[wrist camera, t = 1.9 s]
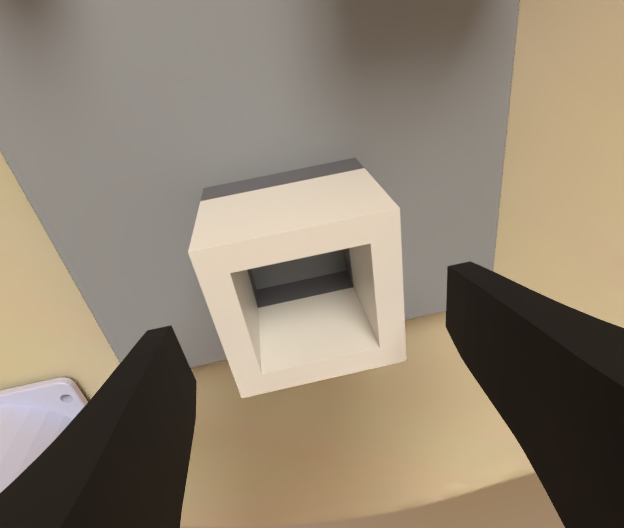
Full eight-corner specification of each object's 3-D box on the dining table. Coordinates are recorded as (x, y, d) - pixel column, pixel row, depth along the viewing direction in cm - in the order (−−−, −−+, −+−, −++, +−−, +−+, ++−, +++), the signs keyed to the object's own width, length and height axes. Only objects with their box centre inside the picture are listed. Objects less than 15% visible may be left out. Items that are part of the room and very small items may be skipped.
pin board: (473, 283, 19) (531, 347, 15) (137, 356, 18) (110, 443, 14) (525, -471, 9) (749, -867, 5) (-247, -374, 8) (-707, -753, 4)
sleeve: (367, 282, 16) (406, 360, 12) (241, 309, 16) (241, 398, 12) (355, 157, 14) (399, 208, 10) (203, 188, 13) (187, 252, 9)
